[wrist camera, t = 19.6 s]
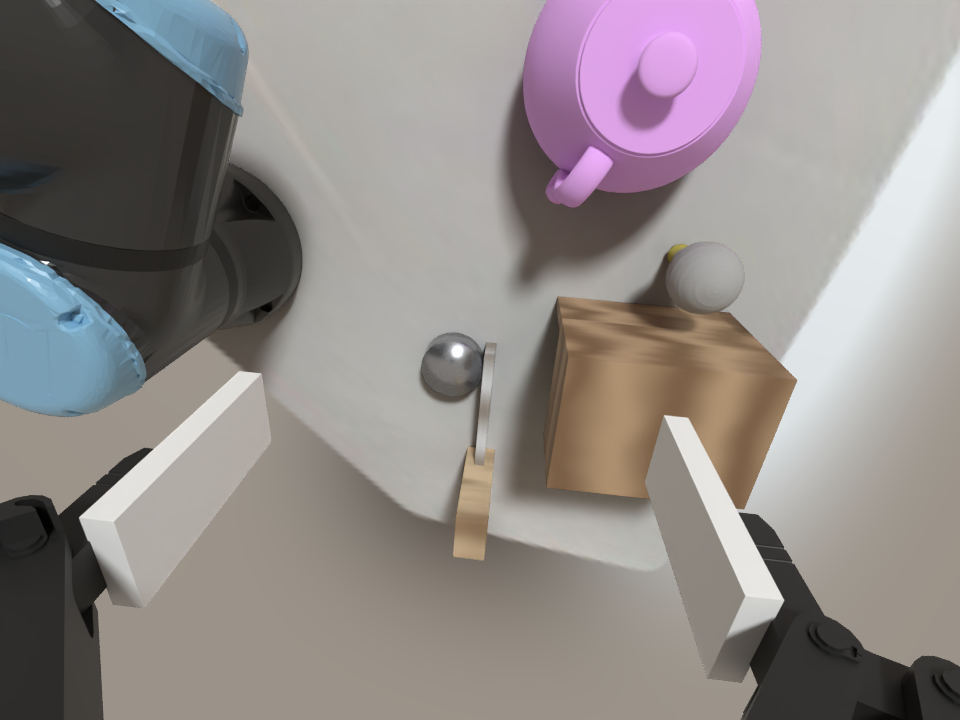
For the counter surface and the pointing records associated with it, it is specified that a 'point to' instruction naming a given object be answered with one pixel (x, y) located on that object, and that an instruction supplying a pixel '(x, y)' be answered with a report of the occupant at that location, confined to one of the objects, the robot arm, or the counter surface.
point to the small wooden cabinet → (657, 395)
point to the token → (453, 364)
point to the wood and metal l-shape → (477, 477)
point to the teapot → (636, 88)
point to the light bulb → (704, 277)
